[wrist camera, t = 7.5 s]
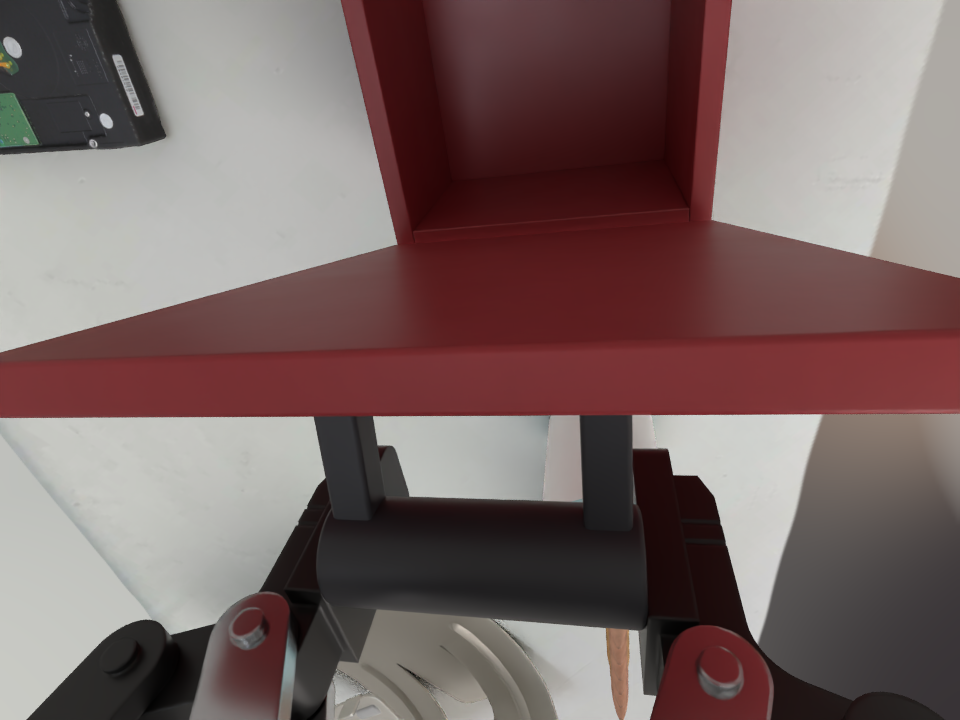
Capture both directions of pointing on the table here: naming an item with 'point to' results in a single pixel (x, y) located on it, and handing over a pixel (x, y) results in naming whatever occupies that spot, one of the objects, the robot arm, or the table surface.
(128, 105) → the disk drive
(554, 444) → the can
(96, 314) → the table surface
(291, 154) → the table surface
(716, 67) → the red box
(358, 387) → the box lid
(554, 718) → the laptop stand
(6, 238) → the table surface
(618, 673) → the ammunition clip
